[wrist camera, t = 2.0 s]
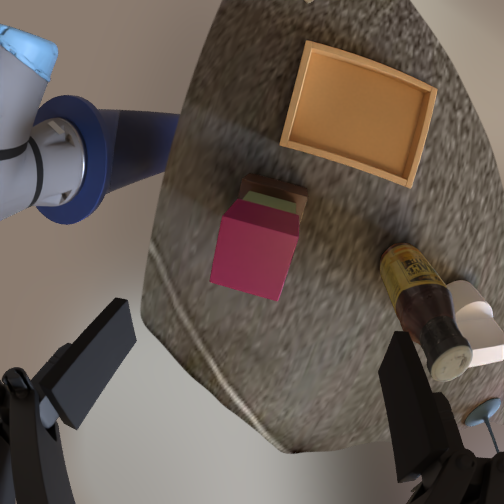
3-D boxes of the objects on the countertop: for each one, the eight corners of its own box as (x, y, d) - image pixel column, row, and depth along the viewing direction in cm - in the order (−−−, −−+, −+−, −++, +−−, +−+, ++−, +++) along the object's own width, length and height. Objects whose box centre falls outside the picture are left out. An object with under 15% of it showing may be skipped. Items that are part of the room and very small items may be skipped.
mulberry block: (225, 254, 28) (209, 282, 23) (237, 198, 25) (222, 215, 20) (282, 270, 27) (277, 301, 22) (299, 215, 25) (299, 236, 20)
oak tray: (280, 144, 32) (279, 145, 30) (305, 46, 27) (306, 39, 24) (403, 184, 32) (411, 188, 29) (428, 91, 26) (437, 89, 24)
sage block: (238, 234, 32) (228, 252, 28) (249, 190, 30) (240, 201, 25) (283, 246, 32) (280, 266, 27) (296, 203, 30) (295, 216, 25)
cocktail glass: (471, 436, 50) (489, 506, 27) (439, 428, 49) (459, 514, 26) (519, 394, 42) (550, 464, 20) (496, 380, 41) (534, 467, 18)
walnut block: (237, 226, 37) (228, 240, 33) (249, 172, 34) (242, 179, 30) (291, 241, 37) (289, 257, 32) (307, 188, 34) (308, 196, 29)
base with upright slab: (422, 331, 39) (446, 385, 28) (436, 280, 35) (472, 330, 25) (466, 327, 37) (495, 376, 27) (482, 279, 34) (521, 323, 23)
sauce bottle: (426, 249, 34) (501, 343, 16) (405, 288, 37) (457, 395, 19) (388, 231, 34) (455, 326, 16) (366, 272, 37) (406, 386, 19)
